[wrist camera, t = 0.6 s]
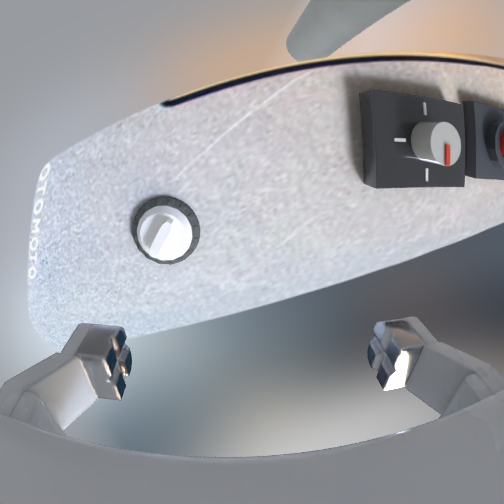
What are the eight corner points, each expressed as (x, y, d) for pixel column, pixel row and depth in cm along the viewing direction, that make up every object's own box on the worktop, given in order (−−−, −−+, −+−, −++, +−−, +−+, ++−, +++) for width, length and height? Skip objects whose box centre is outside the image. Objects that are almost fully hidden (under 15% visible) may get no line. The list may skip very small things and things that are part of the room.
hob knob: (409, 119, 24) (431, 119, 21) (440, 123, 24) (462, 124, 21) (411, 161, 26) (432, 165, 22) (441, 162, 26) (463, 167, 23)
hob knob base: (359, 93, 26) (372, 89, 23) (448, 105, 26) (464, 104, 23) (363, 183, 30) (376, 189, 27) (449, 182, 30) (465, 187, 27)
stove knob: (123, 242, 30) (114, 252, 27) (151, 183, 28) (144, 188, 25) (180, 274, 32) (176, 286, 29) (212, 218, 30) (211, 227, 27)
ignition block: (462, 101, 26) (483, 100, 22) (506, 114, 26) (525, 115, 23) (464, 175, 30) (484, 181, 26) (507, 178, 30) (525, 183, 26)
